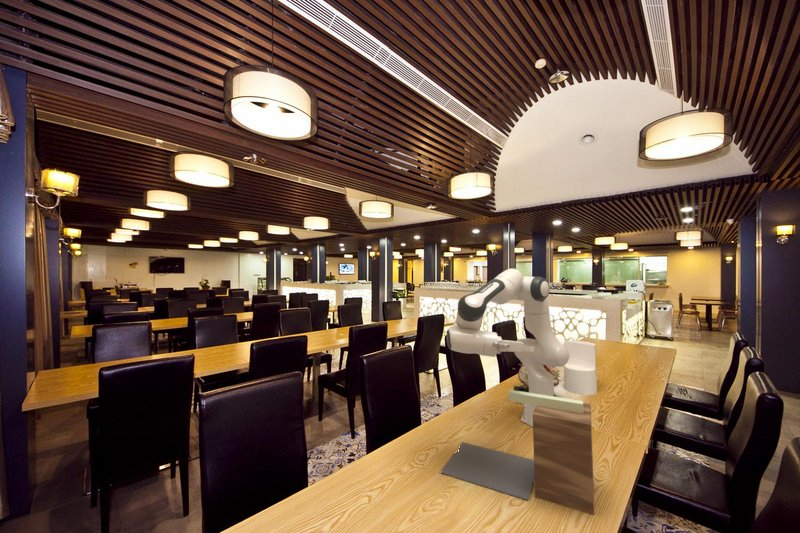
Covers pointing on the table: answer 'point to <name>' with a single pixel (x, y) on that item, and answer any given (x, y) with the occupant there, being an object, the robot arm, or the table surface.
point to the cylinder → (580, 368)
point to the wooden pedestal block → (564, 457)
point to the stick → (546, 401)
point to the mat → (492, 470)
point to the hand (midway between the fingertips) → (529, 348)
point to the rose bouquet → (524, 377)
